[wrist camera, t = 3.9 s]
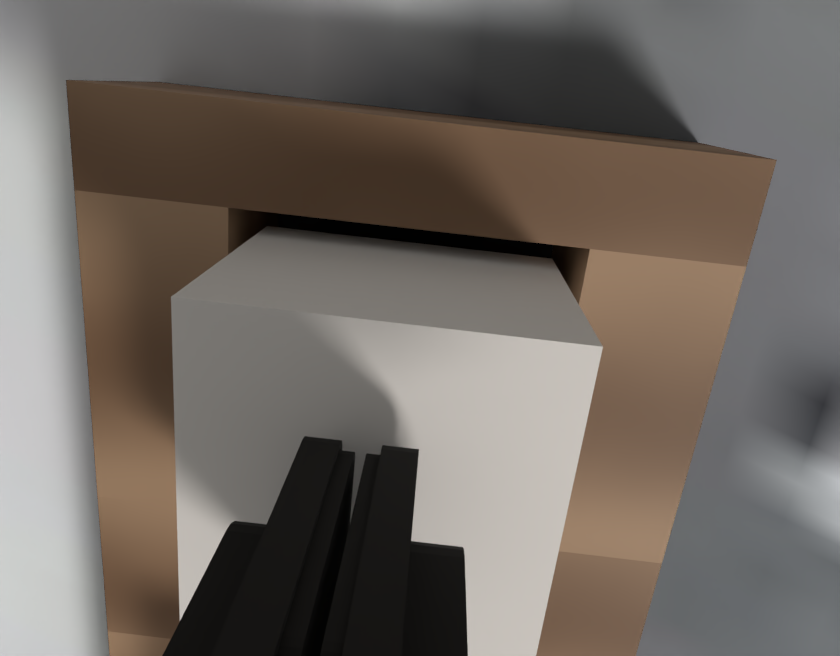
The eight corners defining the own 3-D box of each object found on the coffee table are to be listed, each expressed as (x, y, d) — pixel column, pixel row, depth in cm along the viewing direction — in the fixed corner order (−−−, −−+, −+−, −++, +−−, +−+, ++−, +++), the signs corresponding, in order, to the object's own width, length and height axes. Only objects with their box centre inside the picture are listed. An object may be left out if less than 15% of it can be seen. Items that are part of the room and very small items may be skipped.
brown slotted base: (158, 82, 16) (66, 80, 12) (699, 142, 16) (776, 160, 12) (178, 740, 23) (125, 865, 20) (543, 785, 23) (560, 920, 20)
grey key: (266, 226, 14) (170, 296, 9) (552, 258, 14) (602, 346, 9) (260, 472, 16) (179, 632, 11) (508, 500, 16) (531, 674, 11)
